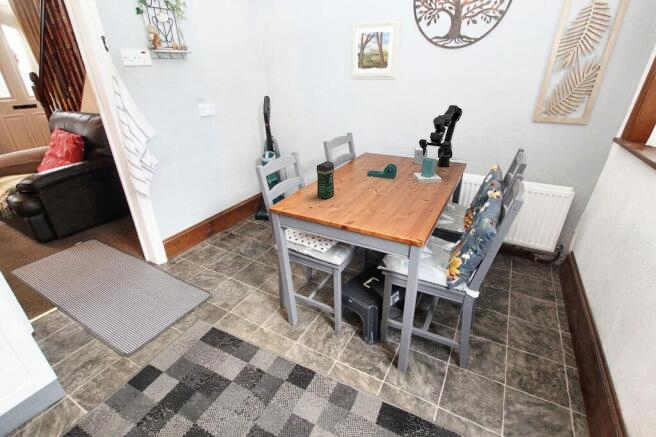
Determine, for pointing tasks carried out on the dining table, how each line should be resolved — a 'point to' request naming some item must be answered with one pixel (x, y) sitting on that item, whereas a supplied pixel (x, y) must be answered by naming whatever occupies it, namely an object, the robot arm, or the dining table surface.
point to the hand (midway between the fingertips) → (430, 156)
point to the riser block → (427, 178)
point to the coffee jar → (325, 179)
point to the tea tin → (428, 167)
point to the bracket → (385, 172)
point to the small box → (419, 155)
